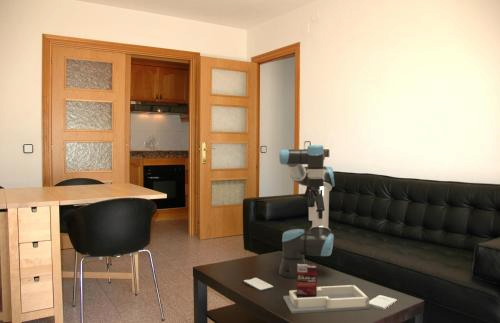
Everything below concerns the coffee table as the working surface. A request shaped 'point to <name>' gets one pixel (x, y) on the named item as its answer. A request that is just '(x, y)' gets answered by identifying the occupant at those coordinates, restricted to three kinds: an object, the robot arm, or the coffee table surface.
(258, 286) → the phone case
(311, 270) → the supplement box
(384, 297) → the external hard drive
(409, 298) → the coffee table surface
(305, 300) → the white tray
